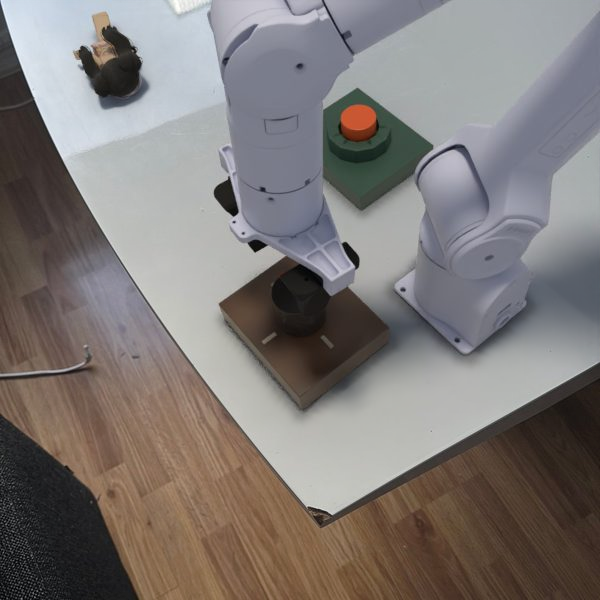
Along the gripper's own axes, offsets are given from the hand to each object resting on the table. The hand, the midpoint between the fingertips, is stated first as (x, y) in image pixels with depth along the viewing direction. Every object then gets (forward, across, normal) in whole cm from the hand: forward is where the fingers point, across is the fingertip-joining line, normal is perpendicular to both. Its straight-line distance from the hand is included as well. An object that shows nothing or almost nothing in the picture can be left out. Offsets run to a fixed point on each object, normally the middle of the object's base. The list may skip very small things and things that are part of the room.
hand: (287, 275), depth 54 cm
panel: (+8, +1, +1) cm, 9 cm away
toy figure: (+10, -44, +3) cm, 45 cm away
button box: (+8, -13, +18) cm, 23 cm away
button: (+4, -13, +17) cm, 22 cm away
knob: (+5, +1, +1) cm, 6 cm away
